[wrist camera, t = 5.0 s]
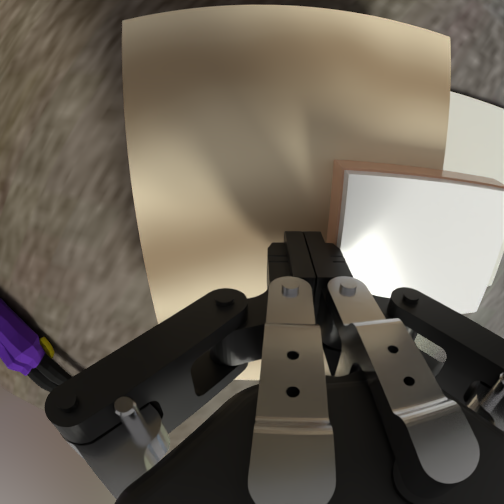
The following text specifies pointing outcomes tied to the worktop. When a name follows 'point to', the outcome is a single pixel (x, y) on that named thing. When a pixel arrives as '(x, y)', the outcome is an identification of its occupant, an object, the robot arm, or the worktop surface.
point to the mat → (475, 142)
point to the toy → (28, 351)
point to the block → (264, 130)
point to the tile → (417, 229)
